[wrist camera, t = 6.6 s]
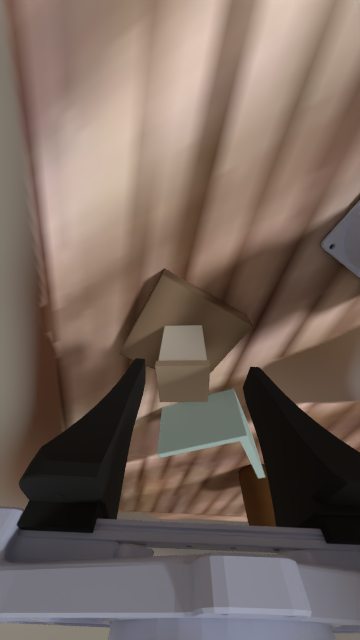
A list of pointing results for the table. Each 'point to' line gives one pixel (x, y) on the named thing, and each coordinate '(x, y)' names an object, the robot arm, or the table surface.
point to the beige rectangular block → (183, 365)
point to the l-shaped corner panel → (207, 427)
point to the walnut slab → (184, 321)
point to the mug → (257, 497)
